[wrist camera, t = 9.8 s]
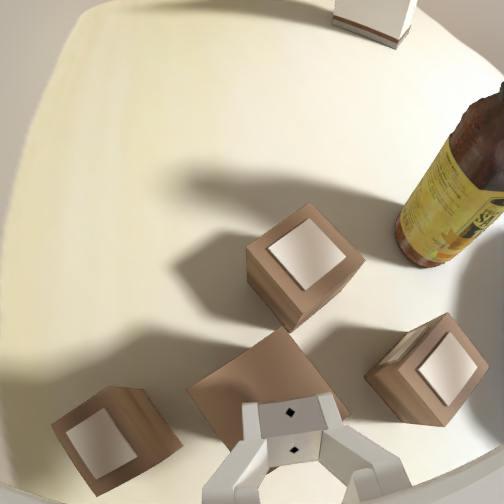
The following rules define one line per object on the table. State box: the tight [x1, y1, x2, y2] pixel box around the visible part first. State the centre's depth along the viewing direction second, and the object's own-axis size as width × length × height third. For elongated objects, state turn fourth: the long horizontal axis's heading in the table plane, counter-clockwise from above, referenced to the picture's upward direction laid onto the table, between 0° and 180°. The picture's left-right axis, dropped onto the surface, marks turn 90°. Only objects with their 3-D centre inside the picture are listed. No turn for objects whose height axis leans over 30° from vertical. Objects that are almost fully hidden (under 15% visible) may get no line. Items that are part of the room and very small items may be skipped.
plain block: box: [186, 326, 350, 475], centre depth 16 cm, size 5×5×9 cm
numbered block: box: [51, 386, 183, 497], centre depth 16 cm, size 5×5×6 cm
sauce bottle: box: [395, 81, 504, 268], centre depth 17 cm, size 7×6×20 cm
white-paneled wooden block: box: [246, 203, 365, 333], centre depth 21 cm, size 5×5×6 cm
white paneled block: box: [364, 312, 489, 427], centre depth 18 cm, size 5×5×6 cm
